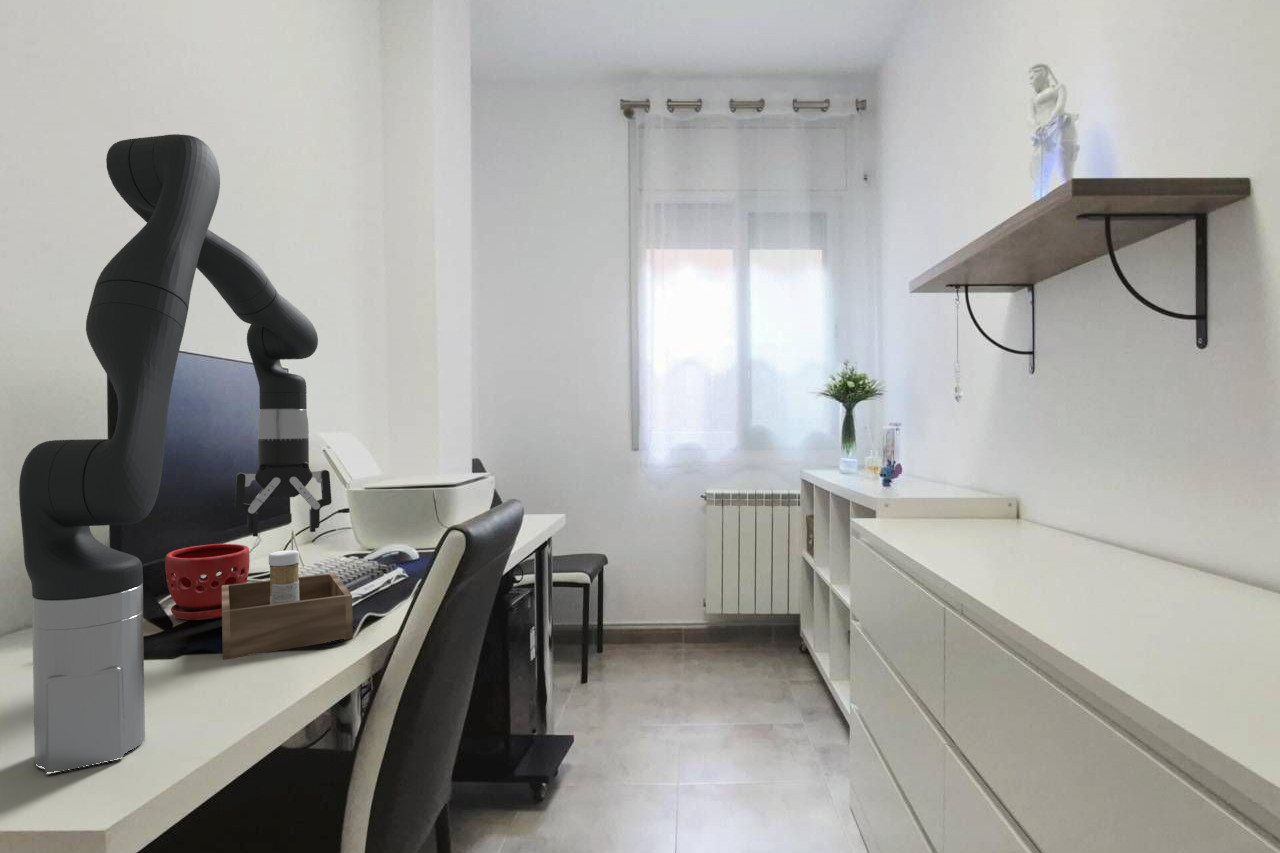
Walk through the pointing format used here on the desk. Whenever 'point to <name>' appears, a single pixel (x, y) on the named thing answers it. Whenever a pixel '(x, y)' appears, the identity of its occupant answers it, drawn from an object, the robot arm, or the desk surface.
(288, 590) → the sprinkles bottle
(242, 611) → the wooden box
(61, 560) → the robot arm
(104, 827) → the desk surface
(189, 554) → the plant pot
